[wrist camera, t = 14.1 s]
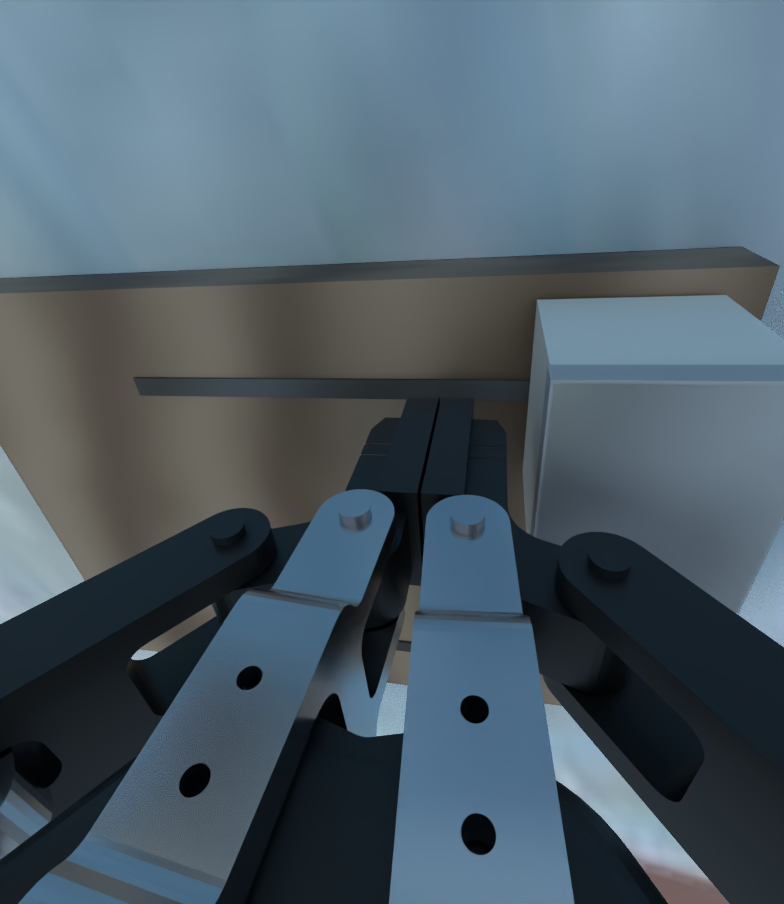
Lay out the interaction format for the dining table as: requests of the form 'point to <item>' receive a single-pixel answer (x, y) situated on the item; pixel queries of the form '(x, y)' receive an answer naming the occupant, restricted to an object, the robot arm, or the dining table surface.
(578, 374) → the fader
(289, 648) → the robot arm
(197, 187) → the dining table surface
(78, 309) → the fader board
